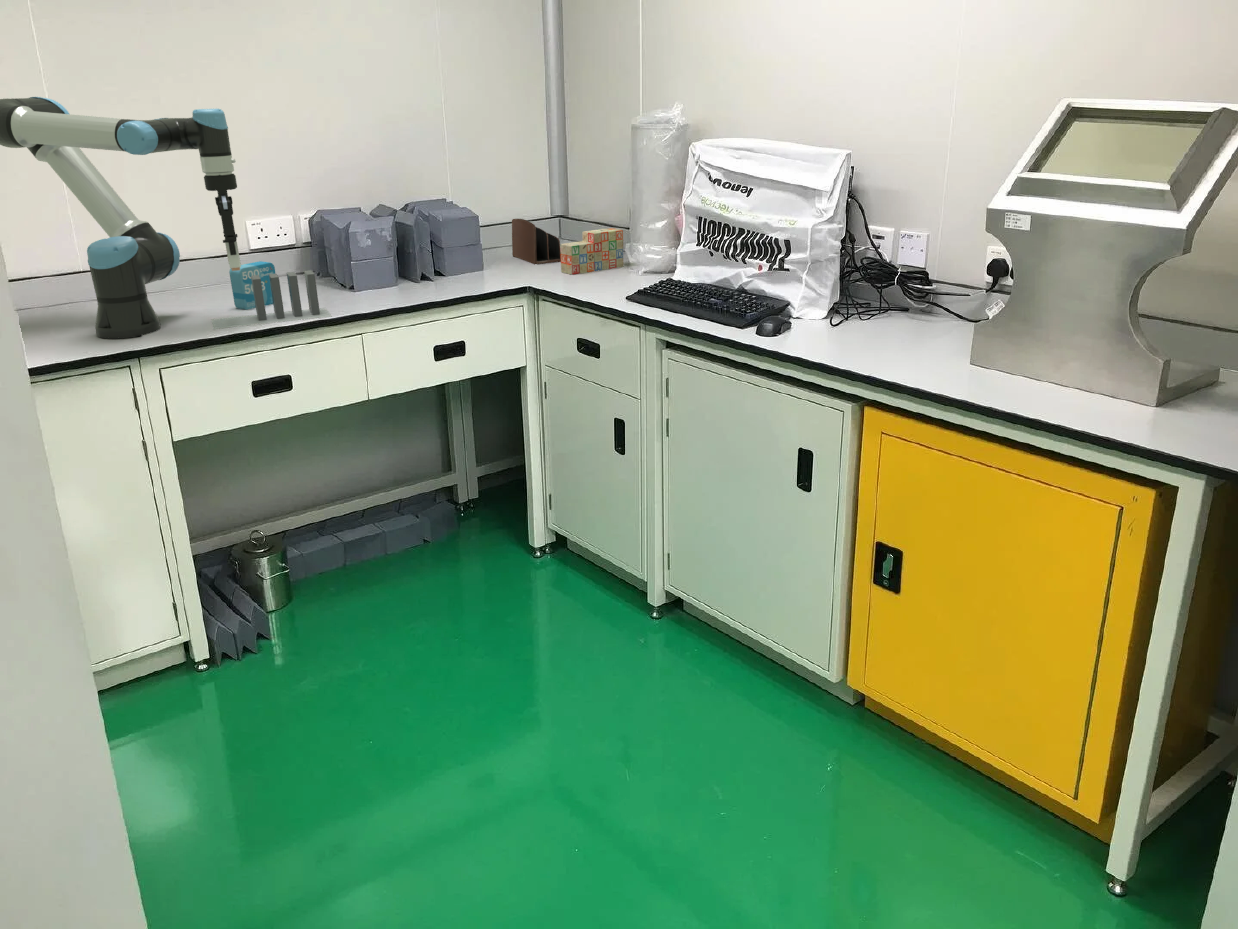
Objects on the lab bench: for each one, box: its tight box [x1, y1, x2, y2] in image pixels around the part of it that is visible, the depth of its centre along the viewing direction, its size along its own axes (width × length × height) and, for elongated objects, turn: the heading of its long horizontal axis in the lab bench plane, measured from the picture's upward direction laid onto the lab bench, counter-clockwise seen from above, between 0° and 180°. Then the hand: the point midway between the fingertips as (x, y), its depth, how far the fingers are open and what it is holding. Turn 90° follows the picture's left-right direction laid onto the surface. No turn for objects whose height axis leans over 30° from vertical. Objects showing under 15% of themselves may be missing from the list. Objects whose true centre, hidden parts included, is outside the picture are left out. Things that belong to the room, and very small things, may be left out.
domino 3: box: [269, 272, 285, 319], centre depth 264 cm, size 2×6×11 cm, turn 24°
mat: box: [210, 307, 333, 330], centre depth 264 cm, size 30×12×1 cm, turn 114°
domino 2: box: [251, 275, 267, 321], centre depth 262 cm, size 2×6×11 cm, turn 23°
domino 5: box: [303, 269, 320, 315], centre depth 267 cm, size 2×6×11 cm, turn 24°
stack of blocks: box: [560, 227, 624, 276], centre depth 321 cm, size 21×6×12 cm, turn 129°
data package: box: [228, 260, 277, 311], centre depth 278 cm, size 12×4×12 cm, turn 147°
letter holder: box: [511, 218, 561, 265], centre depth 341 cm, size 10×20×14 cm, turn 29°
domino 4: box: [286, 271, 303, 317], centre depth 266 cm, size 2×6×11 cm, turn 23°
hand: (234, 265), depth 257 cm, fingers closed on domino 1, 6 cm apart
